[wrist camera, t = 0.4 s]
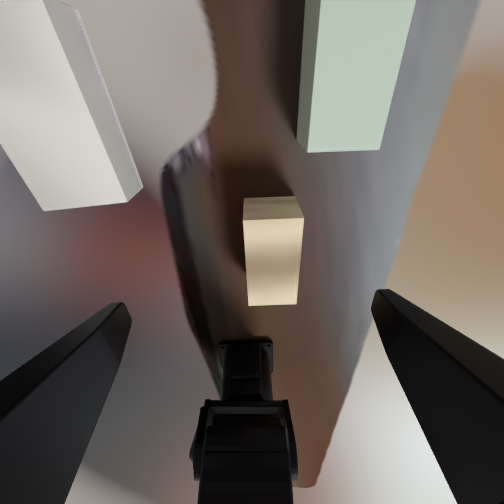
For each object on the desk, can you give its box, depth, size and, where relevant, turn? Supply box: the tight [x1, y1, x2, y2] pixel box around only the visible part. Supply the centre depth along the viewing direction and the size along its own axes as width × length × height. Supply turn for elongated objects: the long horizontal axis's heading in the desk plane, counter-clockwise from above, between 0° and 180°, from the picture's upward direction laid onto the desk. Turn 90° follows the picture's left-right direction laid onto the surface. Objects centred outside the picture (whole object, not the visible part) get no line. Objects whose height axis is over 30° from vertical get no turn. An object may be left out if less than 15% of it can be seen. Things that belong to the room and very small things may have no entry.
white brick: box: [0, 0, 143, 211], centre depth 15 cm, size 10×6×3 cm, turn 6°
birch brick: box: [243, 196, 304, 306], centre depth 20 cm, size 8×4×4 cm, turn 2°
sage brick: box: [296, 0, 416, 152], centre depth 13 cm, size 8×4×4 cm, turn 2°
